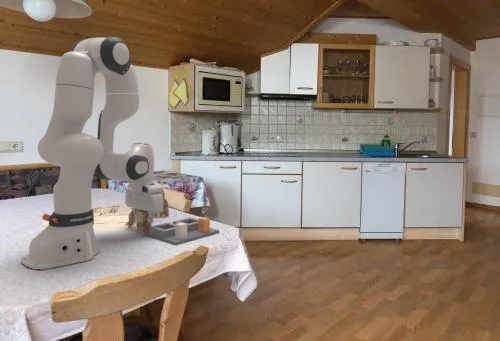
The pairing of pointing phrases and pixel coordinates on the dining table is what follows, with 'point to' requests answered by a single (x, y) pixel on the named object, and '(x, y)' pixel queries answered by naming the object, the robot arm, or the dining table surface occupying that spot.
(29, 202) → the dining table surface
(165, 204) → the figurine
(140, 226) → the wood plug
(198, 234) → the socket board
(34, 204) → the dining table surface
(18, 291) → the dining table surface
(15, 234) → the dining table surface
